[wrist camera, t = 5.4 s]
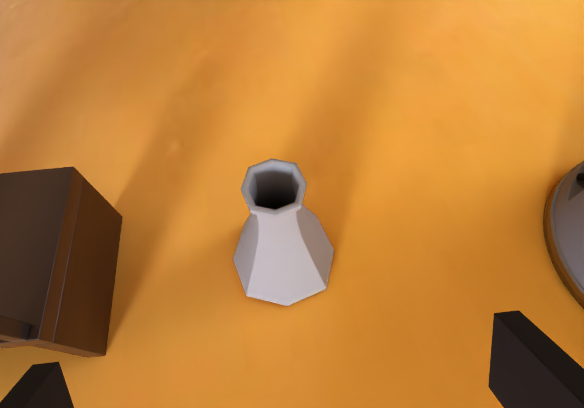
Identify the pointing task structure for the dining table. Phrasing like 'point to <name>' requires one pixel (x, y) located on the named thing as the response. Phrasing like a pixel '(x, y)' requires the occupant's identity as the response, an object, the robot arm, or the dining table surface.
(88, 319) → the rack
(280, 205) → the flask
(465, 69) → the dining table surface
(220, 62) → the dining table surface
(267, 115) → the dining table surface
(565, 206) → the robot arm
